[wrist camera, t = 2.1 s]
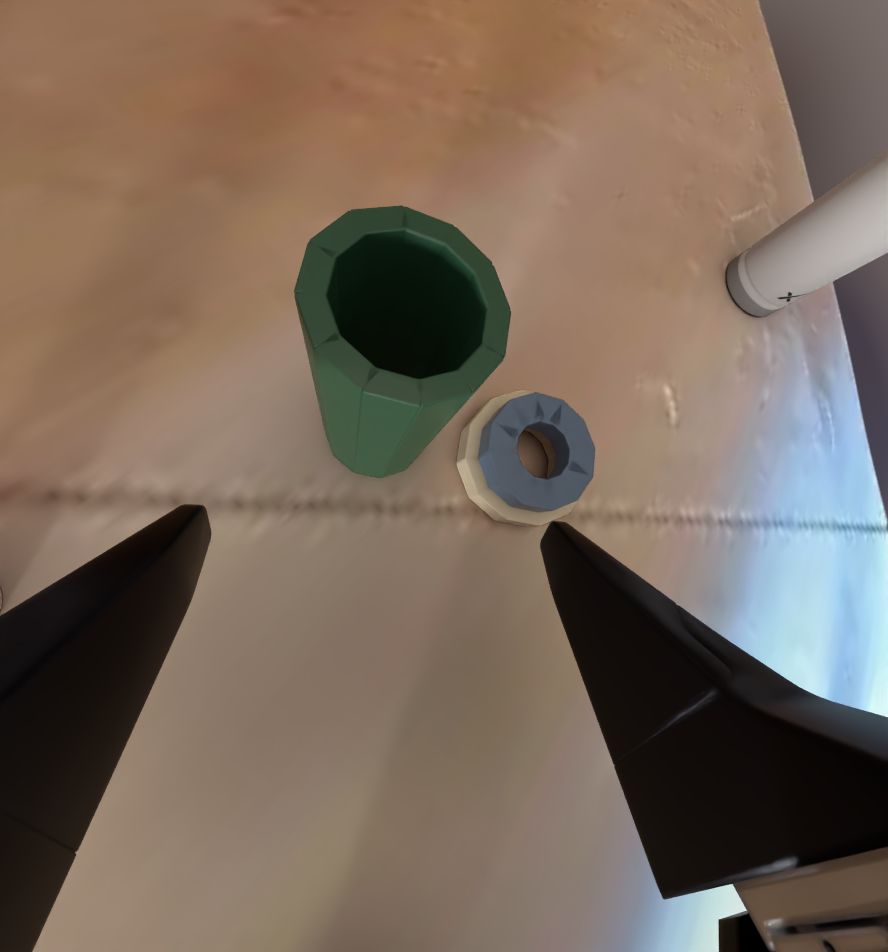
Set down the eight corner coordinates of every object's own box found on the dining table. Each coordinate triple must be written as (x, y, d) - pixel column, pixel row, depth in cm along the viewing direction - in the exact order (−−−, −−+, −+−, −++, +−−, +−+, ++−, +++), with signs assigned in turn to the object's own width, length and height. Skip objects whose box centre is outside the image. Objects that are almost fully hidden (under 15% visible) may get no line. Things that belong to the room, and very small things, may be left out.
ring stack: (589, 500, 25) (625, 494, 22) (485, 543, 22) (507, 545, 19) (546, 388, 25) (575, 367, 22) (439, 419, 23) (454, 400, 20)
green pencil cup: (437, 459, 22) (537, 376, 11) (345, 489, 21) (340, 428, 9) (406, 373, 23) (469, 199, 11) (312, 395, 21) (267, 215, 9)
